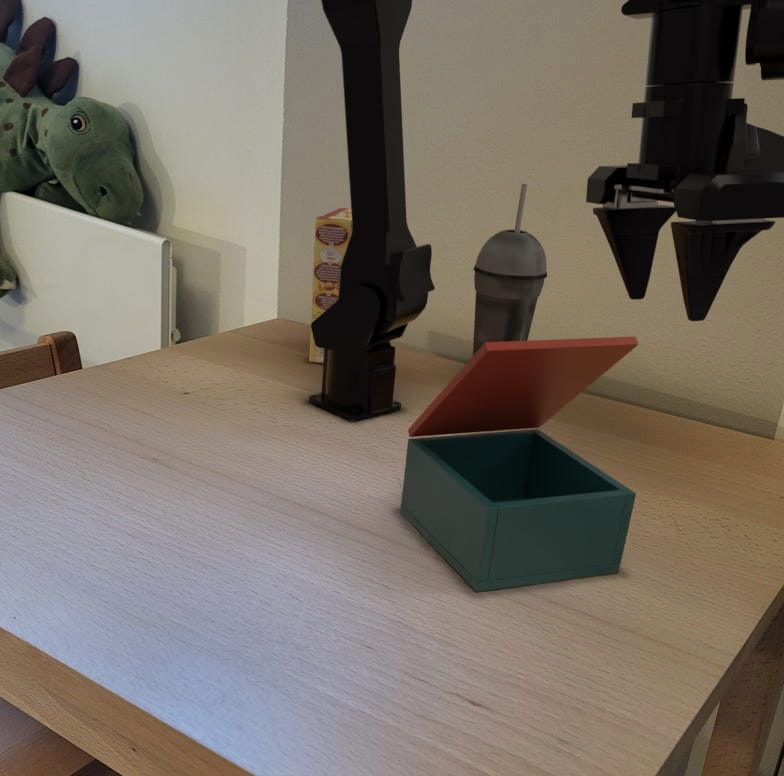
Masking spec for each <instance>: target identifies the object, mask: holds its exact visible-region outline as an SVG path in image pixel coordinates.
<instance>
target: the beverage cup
mask: <svg viewBox="0 0 784 776" xmlns="http://www.w3.org/2000/svg"><path fill="white" fill-rule="evenodd" d="M527 188H528V184H527V183H521V187H520V193H519V199H518V206H517V212H516V218H515V222H514V223H515V224H514V229H504V230H500V231H499V232H497V233H494V234H493V235H492V236H491V237H489V238H488V239H487V240H486V241H485V243H484V244H483V245H482V247H481V249H480V251H479V252H478V254H477V258H476V261H475V264H474V267H473V271H474V276H473V279H474V280H473V282H474V290H475V301H474V302H475V303H474V325H473V346H472V348H473V349H472V357H473V356H474V355H475V353H476V352H477V351H478V350H479V349H480V348H481V347H482V345H483V344H484V343H485V342H508V341H529V335H530V331H531V327H532V324H533V320H534V316H535V311H536V307H537V303H538V299H539V297H540V296H541V293H542V290H543V287H544V285H545V279H546V278H547V277H548V271H547V256H546V252H545V250H544V247H543V246H542V244H541V242H540V241H539V239H537V238H536V236H534V235H533V234H531V233H530V232H528V231H526V230H521V226H522V219H523V215H524V208H525V200H526V196H527V195H526V194H527Z"/></svg>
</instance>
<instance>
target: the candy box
mask: <svg viewBox="0 0 784 776" xmlns="http://www.w3.org/2000/svg"><path fill="white" fill-rule="evenodd" d="M314 228H315V229H314V247H313V271H312V291H311V292H312V293H311V294H312V295H311V313H310V314H311V315H310V324H311V323H312V322H313V321H314V320H316V319H317V318H318V317H319V316H320V315H321V314H323V313H324V312H325V311H326V310H327V309H328V308H330V307H331V306H332V305H333V304H334V303H335V302H337V301H338V291H339V279H340V268H341V264H342V261H343V258H344V255H345V252H346V248H347V245H348V242H349V239H350V236H351V233H352V214H351V208H347V207H346V208H344V207H338V208H337V209H334V210H332V211H330V212H328V213H325V214H323V215H322V216H321V215H320V216H319V215H318V216H317V217H316V218H315V227H314ZM308 356H309V357H308V362H310V363H317V364H318V363H319V364H323V359H324V348H320V347H316V345H315V342H314V338H313V333H312V329H311V328H310V337H309V354H308Z"/></svg>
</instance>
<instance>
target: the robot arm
mask: <svg viewBox="0 0 784 776" xmlns="http://www.w3.org/2000/svg"><path fill="white" fill-rule="evenodd" d="M320 2H321V7H322V11H323V13H324V16H325V18H326V20H327V22H328V25H329V26H330V29H331V31H332V33H333V36H334V38H335V40H336V42H337V44H338V46H339V50H340V55H341V69H342V71H341V72H342V84H343V85H342V86H343V101H344V117H345V119H344V120H345V132H346V148H347V149H346V151H347V165H348V180H349V199H350V209H351V214H352V233H351V236H350V239H349V242H348V245H347V248H346V252H345V255H344V258H343V261H342V264H341V268H340V279H339V291H338V301H337V302H335V303H334V304H333V305H332V306H331V307H330V308H328V309H327V310H326V311H325V312H324V313H323V314H321V315H320V316H319V317H318V318H317V319H316V320H314V321H313V322H312V323H311V322H310V330H311V329H312V333H313V338H314V342H315V345H316V347H320V348H324V359H323V363H322V377H321V392H320V393H319V392H318V393H315V394H310V395H308V402H309V403H312V404H313V405H316V406H318V407H320V408H323V409H325V410H327V411H329V412H331V413H334V414H336V415H338V416H341V417H342V418H345V419H348V420H350V421H358V420H362V419H366V418H370V417H374V416H378V415H383V414H386V413H390V412H394V411H398V410H401V409H402V405H403V403H402V402H400V401H397V400H395V399H394V392H395V381H396V371H397V366H396V365H395V360H396V359H395V358H396V357H395V356H396V347H395V346H392V343H391V341H394V340H396V339H400V338H402V337H403V336H404V334H405V331H406V330H407V327H408V326H409V323H411V322H413V321H414V320H416V319H417V318H418V317H419V316H420V315H421V314H422V313H423V311H425V309H426V306H427V304H428V298H429V292H430V293H431V292H432V291H433V292H434V291H435V289H436V288H435V285H434V282H433V280H432V275H431V264H432V255H433V250H432V245H431V244H430V243H426V244H422V245H417V243H416V242H415V239H414V237H413V236H412V233H411V231H410V229H409V226H408V219H407V198H406V197H407V196H406V177H405V157H404V156H405V155H404V154H405V153H404V151H405V150H404V134H403V133H404V131H403V113H402V112H403V111H402V108H403V106H402V87H401V86H402V85H401V83H402V82H401V64H400V63H401V62H400V61H401V60H400V48H401V47H400V46H401V41H402V38H403V35H404V33H405V29H406V26H407V23H408V20H409V17H410V15H411V11H412V7H413V0H320ZM745 10H750V11H749V17H748V23H747V30H746V38H745V47H744V48H745V49H744V50H745V52H744V59H745V60H744V61H745V62H744V63H745V65H746V66H755V65H757V64H759V67H760V78H761V81H762V82H764V81H782V80H783V81H784V0H627V1H626V2H624V3H623V4H622V5H621V10H620V12H621V14H622V15H623V16H626V17H628V18H631V19H634V20H641V19H651V22H650V32H649V42H648V43H649V44H648V52H647V53H648V55H647V64H646V65H647V66H646V76H645V87H644V96H643V97H644V98H643V102H632V107H631V119H642V120H641V130H640V140H639V141H640V142H639V143H640V144H639V152H638V161H637V162H627V163H626V164H619V165H616V164H615V165H599V166H598V167H597V168H596V169H595V170H594V171H593V172H592V173H591V174H590V175H589V176H588V178H587V183H586V196H585V202H586V203H588V204H589V203H590V204H595V205H602V206H599V207H592V213H593V215H595V216H596V217H597V219H598V222H599V224H600V226H601V229H602V231H603V234H604V236H605V238H606V240H607V243H608V245H609V247H610V250H611V253H612V255H613V258H614V261H615V263H616V267H617V268H618V271H619V274H620V276H621V279H622V282H623V284H624V288H625V290H626V292H627V295H628V299H630V300H633V301H634V300H635V301H636V300H637V301H638V300H643V299H644V298H645V297H646V294H647V289H648V287H649V283H650V277H651V274H652V268H653V264H654V258H655V254H656V249H657V244H658V238H659V234H660V231H661V229H662V228H663V227H664V226H665V224H666V223H667V222H669V220H670V219H671V218H672V217H673V216H674V214H675V213H676V215H677V217H678V218H681V219H686V221H685V220H684V221H671V222H670V228H671V235H672V241H673V247H674V252H675V258H676V263H677V271H678V275H679V281H680V288H681V293H682V299H683V303H684V309H685V313H686V317H687V320H689V322H701V321H704V320H706V318H707V316H708V314H709V312H710V310H711V308H712V305H713V303H714V301H715V299H716V297H717V295H718V293H719V290H720V289H721V287H722V285H723V283H724V280H725V278H726V276H727V274H728V273H729V271H730V269H731V266H732V264H733V262H734V261H735V259H736V257H737V256H738V254H739V252H740V250H741V249H742V247H743V246H744V245H745V244H747V243H748V242H749V241H751V240H752V239H753V238H755V237H756V236H757V235H758V234H760V233H761V232H763V231H769V230H771V229H772V228H773V227H774V226H775V225H776V220H769V219H781V218H784V135H782V134H779V133H776V132H775V131H772V130H769V129H767V128H763V127H759V126H756V125H754V124H751V123H747V122H748V121H747V118H748V117H747V116H748V110H749V109H748V107H749V106H748V104H747V102H745V101H746V98H745V97H742V98H741V97H737V98H736V97H735V98H733V91H734V84H735V83H734V82H735V75H736V67H737V59H738V52H739V51H738V50H739V43H740V36H741V26H742V20H743V19H742V17H743V11H745ZM659 201H660V202H666V203H673V205H667V204H659ZM688 220H689V221H688Z"/></svg>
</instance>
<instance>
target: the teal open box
mask: <svg viewBox="0 0 784 776" xmlns="http://www.w3.org/2000/svg"><path fill="white" fill-rule="evenodd" d="M403 474H404V475H403V483H402V484H403V486H402V491H401V492H402V494H401V504H400V510H399V511H400V512H399V513H401V515H402V516H403V517H404V518H405V519H406V520H407V521H408V522H409V524H411V525H412V526H413V528H414V529H416V530H417V531H418V533H420V535H421V536H422V537H423V538H424V539H425V540H426V541H427V542H428V543H429V544H430V545H431V546H432V548H434V550H436V552H438V554H439V555H440V556H441V557H442V558H443V559H444V560H445V561H446V562H447V563H448V564H449V565H450V566H451V567H452V568H453V569H454V571H456V573H457V574H458V575H459V576H460V577H461V578H462V579H463V580H464V581H465V582H466V583H467V584H468V585H469V587H471V588H472V589H473V591H474V592H476V593H479V592H486V591H493V590H502V589H508V588H509V589H510V588H517V587H523V586H532V585H537V584H545V583H546V584H547V583H552V582H553V583H554V582H561V581H569V580H576V579H583V578H591V577H597V576H607V575H613V574H618V573H619V572H620V567H621V563H622V560H623V554H624V552H625V551H624V550H625V545H626V541H627V536H628V533H629V528H630V524H631V519H632V515H633V509H634V506H635V502H636V497H637V493H636V492H635V491H634V490H632V489H630V488H629V487H628V486H625V484H623V483H621V482H620V481H619V480H617V479H615V478H614V477H612V476H611V475H609V474H607V473H606V472H604V471H603V470H602V469H600V468H599V467H597V466H595V465H594V464H592V463H590V462H589V461H587V460H586V459H585V458H583V457H582V456H580V455H579V454H577V453H575V452H574V451H572V450H571V449H569V448H568V447H566V446H565V445H564V444H562V443H560V442H559V441H558V440H555V439H554V438H552V437H551V436H549V435H548V434H546V433H545V432H543V431H542V430H540V429H539V428H530V429H519V430H505V431H492V432H478V433H465V434H451V435H438V436H424V437H411V438H408V439H407V446H406V455H405V466H404V473H403Z"/></svg>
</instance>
